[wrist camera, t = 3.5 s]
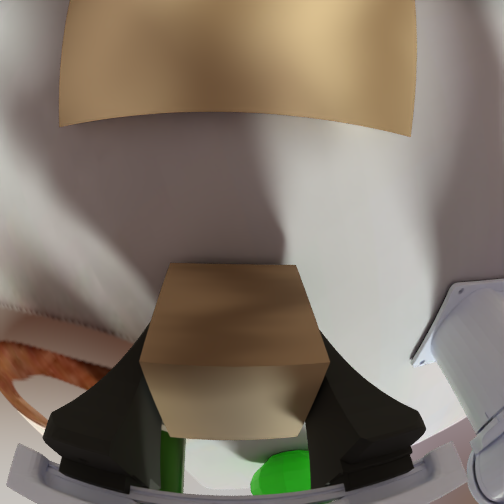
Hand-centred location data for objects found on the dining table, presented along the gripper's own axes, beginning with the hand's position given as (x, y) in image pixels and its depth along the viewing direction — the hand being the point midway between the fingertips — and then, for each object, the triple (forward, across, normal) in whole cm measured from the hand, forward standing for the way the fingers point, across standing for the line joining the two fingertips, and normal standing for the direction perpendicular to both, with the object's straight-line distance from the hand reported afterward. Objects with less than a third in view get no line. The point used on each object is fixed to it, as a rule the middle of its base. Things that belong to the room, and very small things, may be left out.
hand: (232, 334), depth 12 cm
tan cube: (+2, 0, 0) cm, 2 cm away
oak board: (+2, 0, -14) cm, 14 cm away
